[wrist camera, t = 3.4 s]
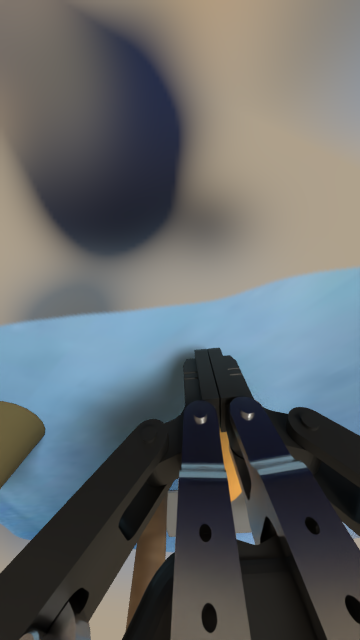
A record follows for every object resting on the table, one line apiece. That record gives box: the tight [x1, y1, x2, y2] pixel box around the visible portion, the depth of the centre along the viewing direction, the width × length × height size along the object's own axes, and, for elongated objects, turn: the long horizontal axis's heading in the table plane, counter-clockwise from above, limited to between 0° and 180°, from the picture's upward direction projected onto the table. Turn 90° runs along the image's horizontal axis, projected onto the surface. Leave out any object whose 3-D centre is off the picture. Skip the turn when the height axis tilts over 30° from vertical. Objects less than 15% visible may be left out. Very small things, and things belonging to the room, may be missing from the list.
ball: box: [220, 430, 242, 502], centre depth 15 cm, size 5×5×5 cm
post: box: [126, 492, 168, 630], centre depth 17 cm, size 3×3×9 cm
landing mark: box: [166, 490, 252, 537], centre depth 25 cm, size 14×14×1 cm
